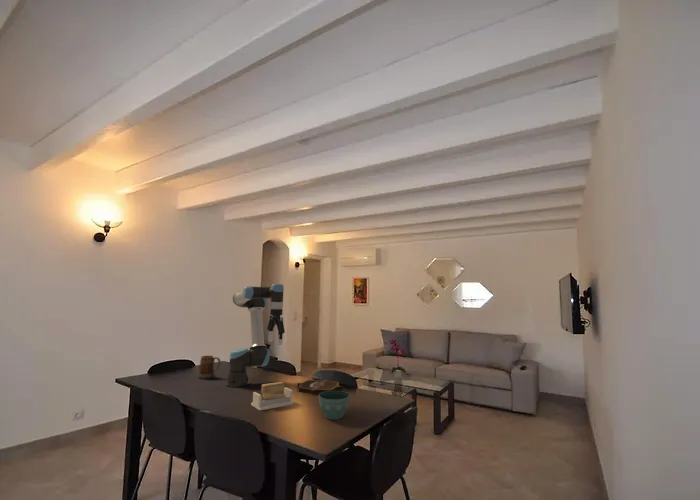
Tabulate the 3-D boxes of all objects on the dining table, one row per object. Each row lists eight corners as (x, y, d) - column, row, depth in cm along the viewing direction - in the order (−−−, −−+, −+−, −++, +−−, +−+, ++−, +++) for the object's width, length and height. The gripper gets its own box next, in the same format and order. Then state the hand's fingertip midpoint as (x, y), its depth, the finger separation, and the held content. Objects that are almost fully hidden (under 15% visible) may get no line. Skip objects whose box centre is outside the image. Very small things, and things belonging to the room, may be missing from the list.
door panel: (260, 403, 206) (261, 384, 207) (280, 399, 213) (281, 381, 214) (263, 405, 203) (264, 386, 204) (283, 401, 210) (284, 383, 211)
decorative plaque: (304, 378, 261) (346, 380, 255) (304, 382, 261) (346, 385, 255) (289, 388, 232) (336, 392, 226) (289, 393, 232) (335, 397, 226)
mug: (195, 378, 266) (196, 357, 268) (203, 375, 276) (204, 354, 278) (215, 380, 263) (216, 358, 265) (222, 376, 274) (224, 355, 275)
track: (251, 404, 207) (251, 391, 208) (283, 399, 219) (284, 386, 219) (259, 410, 197) (260, 396, 198) (293, 404, 209) (293, 391, 210)
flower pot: (324, 424, 179) (324, 400, 180) (313, 413, 193) (314, 392, 195) (354, 420, 185) (355, 397, 186) (342, 410, 200) (342, 389, 201)
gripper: (263, 307, 242) (261, 340, 240) (279, 310, 222) (278, 346, 220) (273, 307, 246) (272, 340, 244) (291, 309, 226) (289, 345, 224)
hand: (275, 343), depth 232 cm, fingers open, 13 cm apart
